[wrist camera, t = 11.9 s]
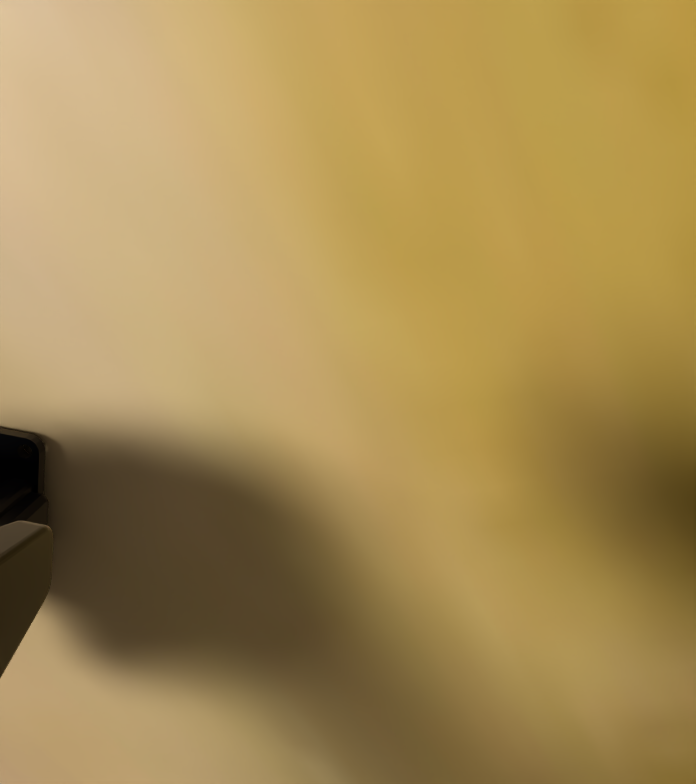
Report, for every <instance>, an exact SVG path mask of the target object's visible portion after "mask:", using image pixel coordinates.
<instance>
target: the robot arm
mask: <svg viewBox="0 0 696 784" xmlns="http://www.w3.org/2000/svg"><path fill="white" fill-rule="evenodd" d="M24 444H25V445H27V446H29V447H30V448H31V450H32V454H30V453H28V452H26V451H25V449H24V446H23V445H24ZM44 465H45V446H44V443H43V442H42V440H41V439H40V438H39V437H38V436H36V435H33V434H30V433H25V432H20V431H14V430H9V429H4V428H0V678H1V676H2V675H3V673H4V671H5V669H6V667H7V666H8V664H9V662H10V660H11V659H12V657H13V655H14V653H15V652H16V650H17V648H18V646H19V645H20V643H21V641H22V639H23V637H24V636H25V634H26V632H27V630H28V629H29V627H30V625H31V623H32V622H33V620H34V618H35V616H36V615H37V613H38V611H39V609H40V607H41V606H42V604H43V602H44V600H45V598H46V596H47V594H48V591H49V588H50V584H51V574H52V555H53V532H52V530H51V528H50V527H49V526H47V520H48V500H47V498H46V496H45V495H44V494H43V490H44Z"/></svg>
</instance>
